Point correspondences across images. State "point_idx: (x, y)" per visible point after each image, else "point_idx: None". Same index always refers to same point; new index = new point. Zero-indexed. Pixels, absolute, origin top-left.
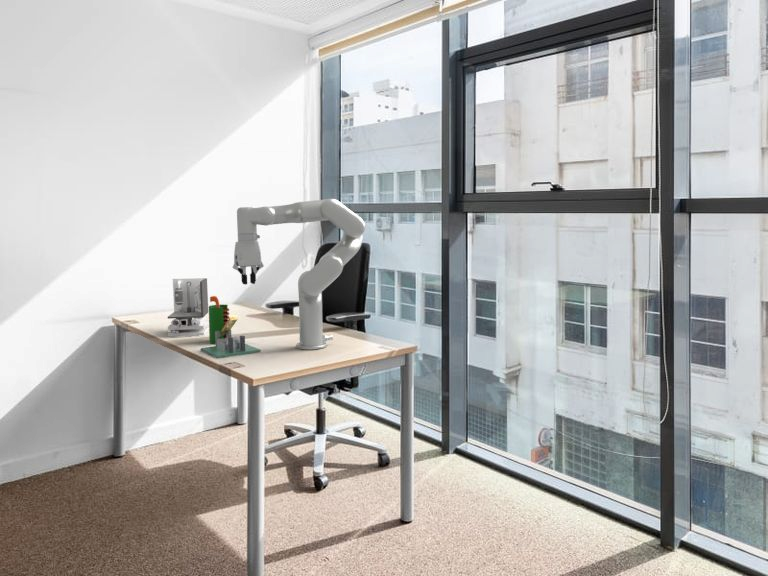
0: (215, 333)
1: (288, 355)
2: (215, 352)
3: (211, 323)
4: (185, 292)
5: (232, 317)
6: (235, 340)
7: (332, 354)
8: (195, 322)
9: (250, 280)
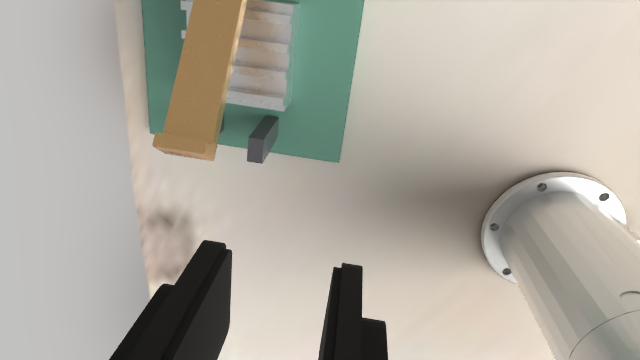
0: None
1: (377, 271)
2: (164, 68)
3: None
4: None
5: (177, 153)
6: (244, 100)
7: (486, 355)
8: None
9: (330, 296)
